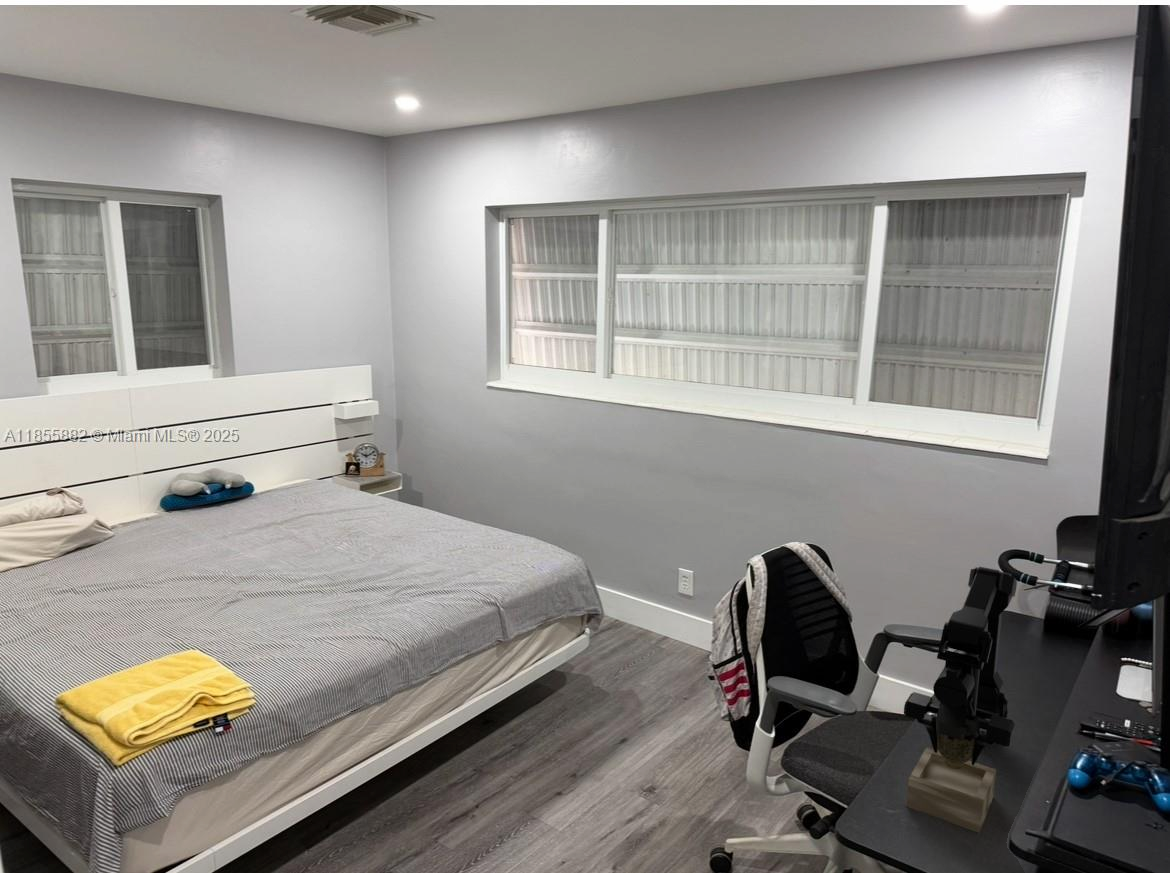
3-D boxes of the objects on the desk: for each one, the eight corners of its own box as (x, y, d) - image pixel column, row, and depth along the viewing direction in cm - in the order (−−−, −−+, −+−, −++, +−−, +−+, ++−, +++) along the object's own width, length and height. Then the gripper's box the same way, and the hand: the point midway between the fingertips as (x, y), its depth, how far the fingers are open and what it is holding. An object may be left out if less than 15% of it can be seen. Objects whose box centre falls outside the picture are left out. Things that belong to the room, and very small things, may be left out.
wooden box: (924, 773, 167) (926, 747, 166) (993, 797, 160) (996, 769, 158) (906, 806, 157) (908, 778, 156) (979, 833, 149) (982, 804, 148)
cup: (980, 764, 157) (984, 727, 155) (967, 782, 152) (971, 743, 150) (941, 749, 162) (944, 713, 160) (926, 765, 157) (930, 728, 155)
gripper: (898, 686, 152) (892, 761, 156) (1008, 718, 142) (999, 797, 145) (914, 663, 161) (908, 734, 164) (1019, 691, 150) (1010, 767, 154)
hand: (954, 757), depth 157 cm, fingers closed on cup, 6 cm apart
